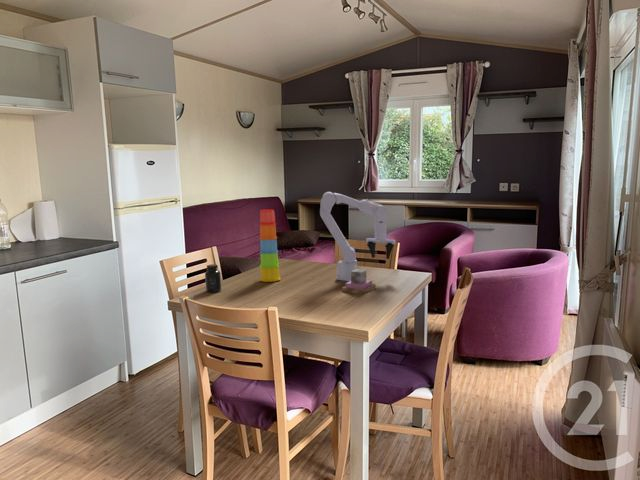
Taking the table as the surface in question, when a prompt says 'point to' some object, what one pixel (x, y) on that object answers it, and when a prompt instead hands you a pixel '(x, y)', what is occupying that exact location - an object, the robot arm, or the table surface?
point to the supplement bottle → (213, 279)
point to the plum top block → (359, 285)
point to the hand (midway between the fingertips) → (380, 257)
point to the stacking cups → (268, 247)
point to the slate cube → (358, 276)
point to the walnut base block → (358, 290)
